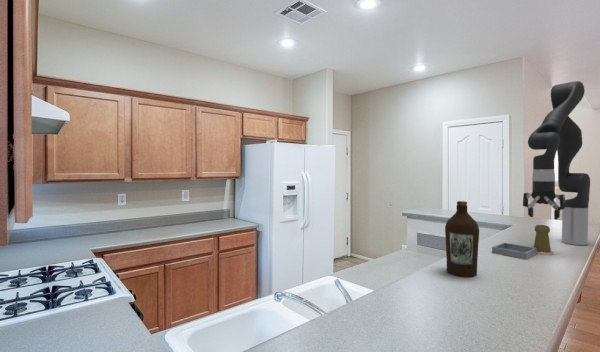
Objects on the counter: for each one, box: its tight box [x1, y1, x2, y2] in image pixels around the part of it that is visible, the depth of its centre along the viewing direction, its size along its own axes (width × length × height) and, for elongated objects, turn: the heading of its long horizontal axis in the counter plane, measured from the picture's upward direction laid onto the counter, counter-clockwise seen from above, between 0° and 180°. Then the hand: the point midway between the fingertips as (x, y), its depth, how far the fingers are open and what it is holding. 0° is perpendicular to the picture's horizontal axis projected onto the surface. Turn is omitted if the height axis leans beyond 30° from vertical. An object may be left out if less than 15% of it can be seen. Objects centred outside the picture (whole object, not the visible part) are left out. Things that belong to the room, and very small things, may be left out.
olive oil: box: [444, 200, 480, 278], centre depth 109 cm, size 11×11×25 cm
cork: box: [533, 224, 552, 253], centre depth 133 cm, size 6×6×11 cm
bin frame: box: [491, 242, 538, 260], centre depth 132 cm, size 12×12×2 cm
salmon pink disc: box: [537, 250, 554, 256], centre depth 133 cm, size 7×7×1 cm
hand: (543, 217), depth 133 cm, fingers open, 8 cm apart
